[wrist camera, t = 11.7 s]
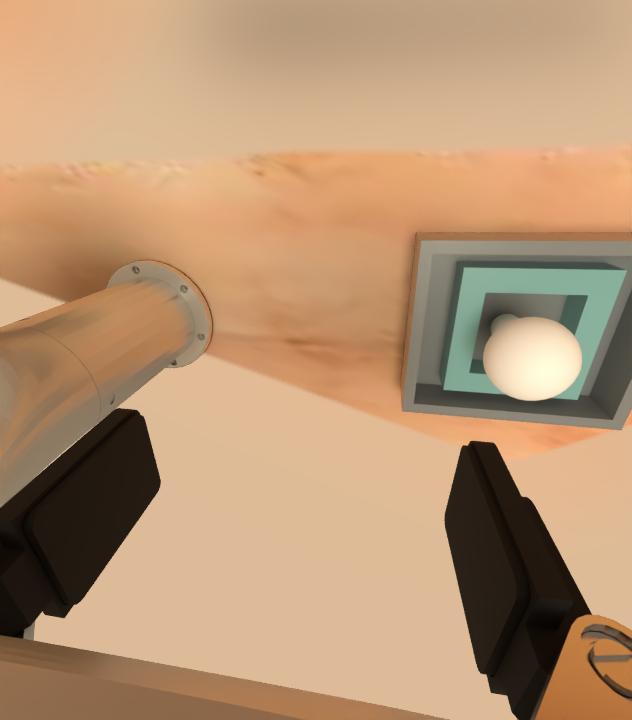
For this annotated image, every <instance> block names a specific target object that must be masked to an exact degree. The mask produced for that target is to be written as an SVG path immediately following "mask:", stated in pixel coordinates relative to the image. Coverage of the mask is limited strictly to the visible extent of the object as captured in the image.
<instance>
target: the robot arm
mask: <svg viewBox="0 0 632 720" xmlns="http://www.w3.org/2000/svg"><path fill="white" fill-rule="evenodd" d="M211 334H212V319H211V315H210V311H209V308H208V305H207V303H206V301H205V299H204V297H203V295H202V294H201V292H200V291H199V289H198V288H197V287H196V286H195V285H194V283H193V282H192V281H191V280H190V279H189V278H188V277H186V276H185V275H184V274H183V273H182V272H180V271H178V270H177V269H175V268H173V267H172V266H169V265H167V264H164V263H162V262H157V261H152V260H142V261H137V262H133V263H130V264H127V265H125V266H122V267H121V268H120V269H118V270H117V271H116V272H115V273H114V274H113V275H112V277H111V278H110V279H109V282H108V284H107V286H106V289H104V290H101V291H99V292H96V293H93V294H90V295H88V296H85V297H82V298H80V299H77V300H74V301H71V302H69V303H66V304H63V305H61V306H58V307H55V308H53V309H50V310H47V311H44V312H41V313H39V314H36V315H33V316H31V317H28V318H25V319H22V320H20V321H17V322H15V323H12V324H9V325H6V326H4V327H1V328H0V720H448V719H443V718H438V717H434V716H429V715H424V714H420V713H415V712H410V711H406V710H401V709H396V708H391V707H387V706H382V705H377V704H371V703H366V702H361V701H356V700H351V699H345V698H340V697H335V696H330V695H325V694H319V693H314V692H309V691H303V690H298V689H293V688H287V687H282V686H278V685H272V684H267V683H262V682H256V681H251V680H245V679H240V678H235V677H230V676H224V675H219V674H214V673H208V672H203V671H197V670H192V669H186V668H181V667H176V666H170V665H165V664H160V663H154V662H149V661H143V660H138V659H132V658H126V657H121V656H116V655H110V654H105V653H99V652H94V651H88V650H82V649H77V648H71V647H66V646H60V645H54V644H48V643H43V642H38V641H33V639H34V627H35V620H36V618H37V617H38V616H39V615H40V613H41V612H42V611H43V613H44V614H45V615H49V616H55V617H60V618H65V617H66V615H67V614H68V612H69V611H70V610H71V608H72V607H73V605H76V604H78V603H79V602H80V601H81V600H82V599H83V598H84V597H85V595H86V594H87V592H88V591H89V589H90V588H91V587H92V585H93V584H94V582H95V581H96V580H97V578H98V577H99V575H100V574H101V572H102V571H103V570H104V568H105V566H106V565H107V564H108V562H109V561H110V559H111V558H112V557H113V555H114V553H115V552H116V551H117V549H118V548H119V547H120V545H121V544H122V542H123V541H124V539H125V538H126V537H127V535H128V534H129V532H130V531H131V530H132V528H133V527H134V525H135V524H136V522H137V521H138V520H139V518H140V517H141V515H142V514H143V512H144V511H145V510H146V508H147V507H148V505H149V504H150V502H151V501H152V499H153V498H154V497H155V495H156V494H157V492H158V491H159V488H160V483H161V480H160V476H159V472H158V468H157V464H156V460H155V457H154V453H153V449H152V445H151V441H150V438H149V434H148V430H147V426H146V422H145V419H144V417H143V416H141V415H140V413H139V412H138V411H137V410H132V409H121V408H118V409H115V408H117V407H118V406H119V405H120V404H121V403H123V402H124V401H125V400H126V399H128V398H129V397H130V396H131V395H132V394H134V393H135V392H136V391H137V390H139V389H140V388H141V387H142V386H143V385H145V384H146V383H147V382H148V381H149V380H151V379H152V378H153V377H154V376H156V375H157V374H158V373H159V372H160V371H162V370H163V369H164V368H178V367H183V366H186V365H189V364H191V363H192V362H194V361H195V360H197V359H198V358H199V357H200V356H201V355H202V354H203V353H204V351H205V350H206V348H207V347H208V345H209V342H210V340H211ZM114 409H115V410H114ZM109 413H110V414H109ZM108 414H109V415H108ZM103 418H104V419H103ZM102 419H103V420H102ZM101 420H102V421H101ZM98 422H99V423H98ZM97 423H98V424H97ZM96 424H97V425H96ZM95 425H96V426H95ZM94 426H95V427H94ZM92 427H94V428H92ZM91 428H92V429H91ZM90 429H91V430H90ZM88 430H90V431H89V432H88V433H86V432H87V431H88ZM85 433H86V434H85ZM84 434H85V435H84ZM82 435H84V436H83V437H82V438H81V439H80V440H78V439H79V438H80V437H81V436H82ZM76 440H78V441H77V442H76V443H75V444H74V445H73V446H71V447H70V448H69V449H68V450H67V451H66V452H64V453H63V454H62V455H61V456H60V457H59V458H57V459H56V460H55V461H54V462H53V463H52V464H50V463H51V462H52V461H53V460H54V459H55V458H56V457H58V456H59V455H60V454H61V453H62V452H63V451H64V450H66V449H67V448H68V447H69V446H70V445H72V444H73V443H74V442H75V441H76ZM49 464H50V465H49ZM47 465H49V466H48V467H47V468H46V469H45V470H43V469H44V468H45V467H46V466H47ZM42 470H43V471H42ZM41 471H42V472H41ZM40 472H41V473H40ZM39 473H40V474H39ZM38 474H39V475H38ZM37 475H38V476H37ZM445 528H446V533H447V537H448V541H449V546H450V550H451V555H452V559H453V563H454V568H455V572H456V576H457V581H458V586H459V589H460V594H461V599H462V603H463V607H464V611H465V616H466V621H467V625H468V629H469V634H470V638H471V643H472V647H473V652H474V655H475V660H476V664H477V668H478V670H479V672H480V673H481V674H486V675H487V678H488V682H489V687H490V691H491V693H495V694H501V695H507V696H508V700H509V704H510V707H511V711H512V713H513V714H514V715H515V716H516V717H517V720H632V631H631V630H630V629H629V628H626V627H625V626H623V625H621V624H619V623H618V622H616V621H614V620H611V619H609V618H606V617H602V616H599V615H592V614H591V612H590V610H589V608H588V606H587V604H586V602H585V600H584V598H583V597H582V595H581V593H580V591H579V589H578V587H577V585H576V583H575V581H574V579H573V577H572V576H571V574H570V572H569V570H568V568H567V566H566V564H565V562H564V560H563V559H562V557H561V555H560V553H559V551H558V549H557V547H556V545H555V543H554V542H553V539H552V538H551V536H550V534H549V532H548V530H547V528H546V526H545V524H544V522H543V521H542V519H541V517H540V515H539V513H538V511H537V509H536V507H535V505H534V504H533V502H532V501H531V500H530V499H529V498H527V497H522V496H521V495H520V493H519V490H518V488H517V486H516V485H515V482H514V480H513V479H512V476H511V475H510V472H509V470H508V469H507V466H506V464H505V462H504V460H503V458H502V456H501V454H500V452H499V450H498V448H497V446H496V445H495V444H494V443H491V442H480V441H470V443H469V445H468V446H465V445H464V446H462V448H461V452H460V456H459V460H458V464H457V468H456V472H455V476H454V480H453V484H452V488H451V492H450V496H449V500H448V504H447V508H446V512H445Z"/></svg>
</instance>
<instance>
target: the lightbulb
mask: <svg viewBox="0 0 632 720" xmlns="http://www.w3.org/2000/svg"><path fill="white" fill-rule="evenodd" d="M490 330H491V334H492V336H491V337H490V338H489V340H488V342H487V343H486V346H485V349H484V354H483V365H484V369H485V372H486V374H487V376H488V378H489V380H490V381H491V382H492V384H493V385H494V386H495V387H497V388H498V389H499V390H500V391H501V392H503V393H505V394H507V395H509V396H511V397H513V398H516V399H520V400H526V401H537V400H544V399H548V398H552V397H554V396H556V395H558V394H560V393H562V392H563V391H565V390H566V389H567V388H568V387H569V386H571V385H572V383H573V382H574V381H575V379H576V378H577V377H578V375H579V372H580V370H581V366H582V351H581V348H580V345H579V343H578V341H577V339H576V338H575V336H574V335H573V333H571V332H570V331H569V330H568V329H567V328H566V327H565V326H563V325H562V324H560V323H558V322H556V321H553V320H550V319H546V318H541V317H523V318H518V317H516V316H515V315H512V314H502V315H500V316H498V317H496V318H495V319H494V320H493V321H492V323H491V327H490Z"/></svg>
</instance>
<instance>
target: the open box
mask: <svg viewBox="0 0 632 720" xmlns="http://www.w3.org/2000/svg"><path fill="white" fill-rule="evenodd" d="M502 314H512V315H515V316H516V317H518V318H523V317H541V318H546V319H550V320H553V321H556V322H558V323H560V324H562V325H563V326H565V327H566V328H567V329H568V330H569V331H570V332H571V333H573V335H574V336H575V338H576V339H577V341H578V343H579V345H580V348H581V351H582V366H581V370H580V372H579V375H578V377H577V378H576V379H575V381H574V382H573V383H572V385H571V386H569V387H568V388H567V389H566V390H565V391H563V392H562V393H560V394H558V395H556V396H554V397H552V398H548V399H544V400H537V401H526V400H520V399H516V398H513V397H511V396H509V395H507V394H505V393H503V392H501V391H500V390H499V389H498V388H497V387H495V386H494V385H493V384H492V382H491V381H490V380H489V378H488V376H487V374H486V372H485V369H484V365H483V354H484V349H485V346H486V343H487V342H488V340H489V338H490V337H491V336H492V334H491V330H490V327H491V323H492V321H493V320H494V319H495V318H496V317H498V316H500V315H502ZM400 388H401V402H402V411H404V412H416V413H427V414H439V415H450V416H462V417H473V418H485V419H497V420H508V421H520V422H531V423H543V424H554V425H566V426H577V427H589V428H601V429H612V430H622V428H623V426H624V424H625V422H626V420H627V417H628V415H629V413H630V411H631V409H632V233H416V241H415V250H414V260H413V269H412V279H411V288H410V298H409V307H408V317H407V327H406V336H405V346H404V355H403V365H402V374H401V384H400Z"/></svg>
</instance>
